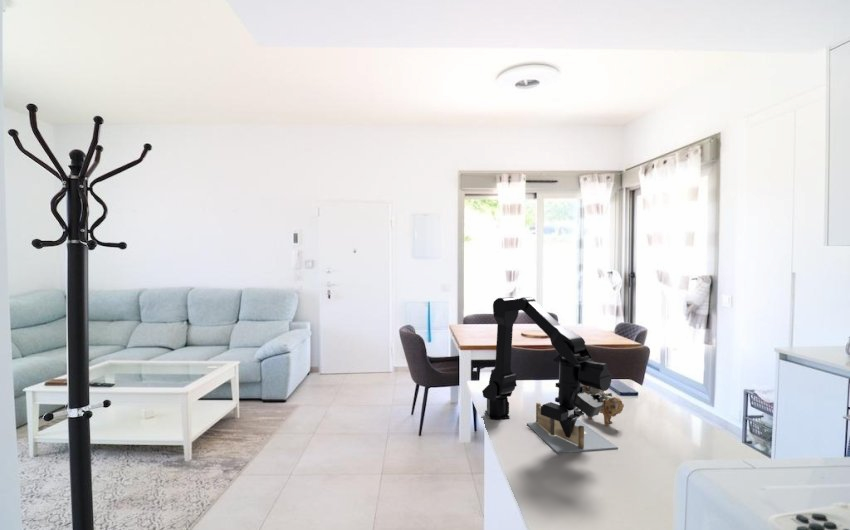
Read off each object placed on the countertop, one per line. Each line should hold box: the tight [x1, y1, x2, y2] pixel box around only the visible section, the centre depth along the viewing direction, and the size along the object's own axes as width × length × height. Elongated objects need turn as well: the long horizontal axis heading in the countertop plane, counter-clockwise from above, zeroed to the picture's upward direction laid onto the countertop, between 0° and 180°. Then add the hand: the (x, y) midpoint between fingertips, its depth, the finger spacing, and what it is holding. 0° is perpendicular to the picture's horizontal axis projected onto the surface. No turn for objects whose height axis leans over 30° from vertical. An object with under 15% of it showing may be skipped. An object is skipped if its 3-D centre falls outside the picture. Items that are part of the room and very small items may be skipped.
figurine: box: [581, 383, 613, 400], centre depth 148 cm, size 20×6×17 cm
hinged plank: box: [554, 420, 584, 448], centre depth 107 cm, size 9×1×6 cm, turn 32°
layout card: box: [526, 419, 619, 454], centre depth 112 cm, size 18×19×1 cm
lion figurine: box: [580, 396, 625, 427], centre depth 124 cm, size 15×5×9 cm, turn 35°
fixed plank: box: [535, 402, 555, 435], centre depth 116 cm, size 1×11×6 cm, turn 9°
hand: (567, 437), depth 105 cm, fingers closed
